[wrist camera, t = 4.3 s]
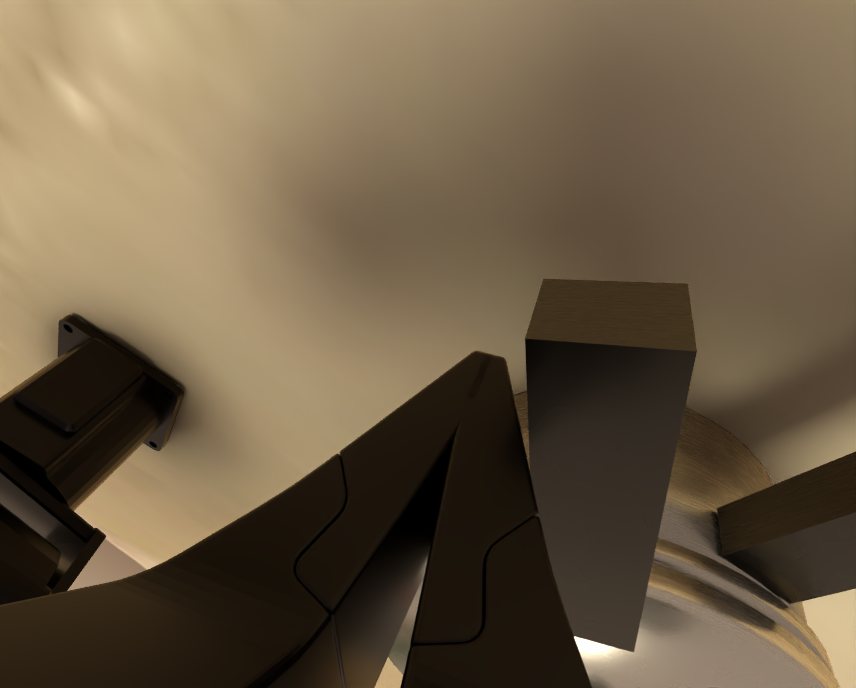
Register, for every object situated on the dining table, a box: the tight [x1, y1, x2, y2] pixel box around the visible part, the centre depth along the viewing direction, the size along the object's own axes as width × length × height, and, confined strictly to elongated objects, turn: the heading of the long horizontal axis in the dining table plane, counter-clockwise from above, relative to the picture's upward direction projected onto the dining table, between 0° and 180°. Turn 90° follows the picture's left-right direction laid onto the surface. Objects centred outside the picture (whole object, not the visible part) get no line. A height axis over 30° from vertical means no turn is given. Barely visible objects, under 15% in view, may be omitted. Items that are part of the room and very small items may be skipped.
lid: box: [388, 279, 840, 688], centre depth 13 cm, size 22×13×2 cm, turn 8°
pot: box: [514, 392, 856, 677], centre depth 16 cm, size 22×13×6 cm, turn 148°
